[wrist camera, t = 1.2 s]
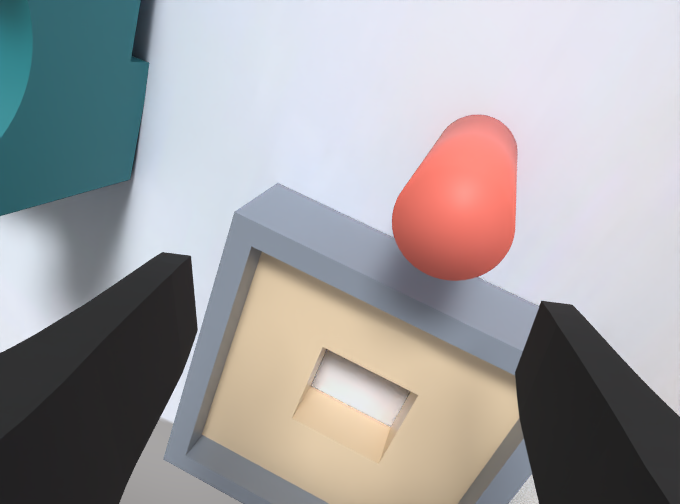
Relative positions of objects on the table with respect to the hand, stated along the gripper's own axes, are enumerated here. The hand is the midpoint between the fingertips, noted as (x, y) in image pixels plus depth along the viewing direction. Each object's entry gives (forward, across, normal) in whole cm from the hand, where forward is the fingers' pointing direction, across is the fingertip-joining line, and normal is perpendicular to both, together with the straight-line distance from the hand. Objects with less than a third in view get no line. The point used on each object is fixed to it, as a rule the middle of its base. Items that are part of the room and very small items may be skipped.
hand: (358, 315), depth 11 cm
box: (+10, -1, +12) cm, 15 cm away
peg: (+11, -4, +1) cm, 11 cm away
